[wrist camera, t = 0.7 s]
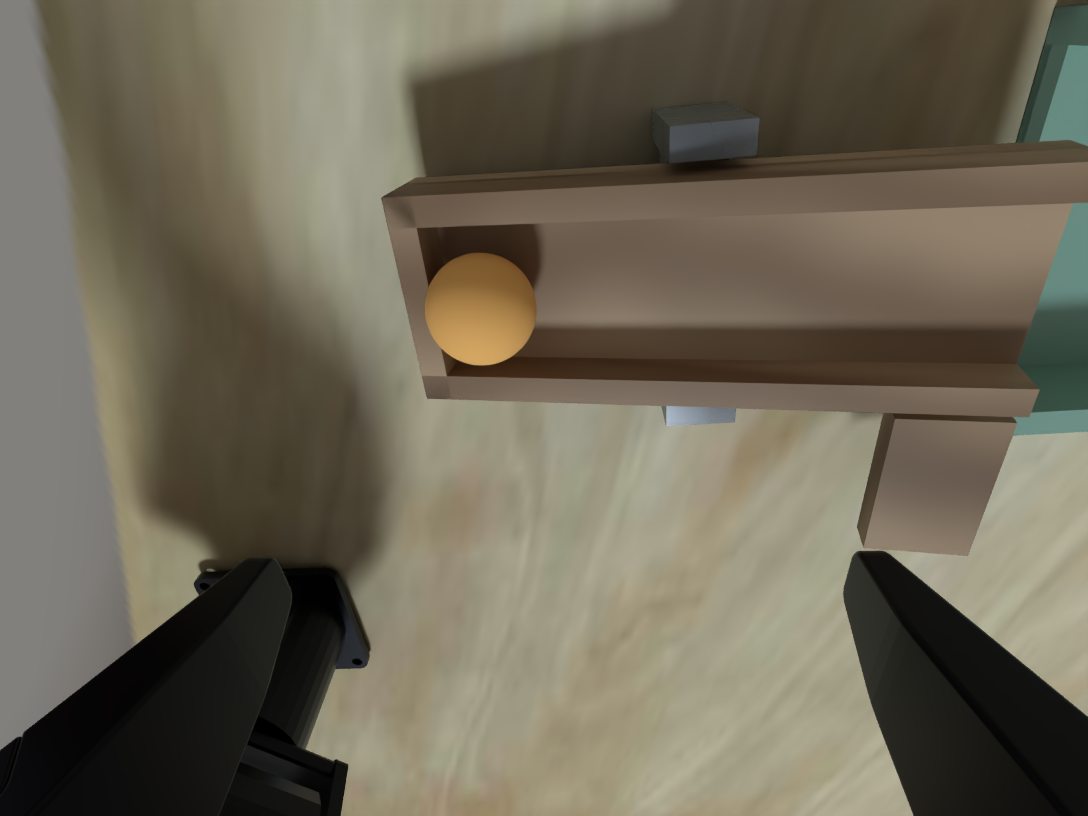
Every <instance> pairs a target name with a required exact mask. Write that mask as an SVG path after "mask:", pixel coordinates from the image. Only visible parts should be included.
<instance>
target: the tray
mask: <svg viewBox="0 0 1088 816" xmlns="http://www.w3.org/2000/svg"><path fill="white" fill-rule="evenodd" d="M1058 140H1071V141H1074V142H1077V143H1080V144H1083V145H1086V146H1088V4H1082V5H1073V6H1063V7H1055V10H1054V14H1053V17H1052V21H1051V24H1050V27H1049V31H1048V34H1047V38H1046V41H1045V45H1044V48H1043V52H1042V55H1041V59H1040V62H1039V66H1038V69H1037V73H1036V76H1035V79H1034V83H1033V86H1032V90H1031V93H1030V97H1029V100H1028V104H1027V107H1026V111H1025V114H1024V118H1023V121H1022V125H1021V128H1020V131H1019V135H1018V138H1017V142H1016V143H1024V142H1041V141H1058ZM1017 365H1018V366H1019V367H1020V368H1021V369H1022V370H1023V371H1024V372H1025V374H1026V375H1027V376H1028V377H1029V378H1030V379H1031V380H1032V381H1033V382H1034V384H1035V385H1036V386H1037V387H1038V388H1039V389H1040V390H1039V393H1038V396H1037V398H1036V401H1035V404H1034V406H1033V409H1032V411H1031V414H1030V417H1013V418H1014V419H1015V420H1016V422H1017V426H1016V428H1015V431H1014V434H1013V435H1031V434H1050V433H1069V432H1088V203H1073V205H1072V208H1071V211H1070V214H1069V217H1068V220H1067V223H1066V225H1065V228H1064V231H1063V234H1062V237H1061V240H1060V242H1059V245H1058V248H1057V251H1056V254H1055V257H1054V260H1053V262H1052V265H1051V268H1050V271H1049V274H1048V277H1047V280H1046V282H1045V285H1044V288H1043V291H1042V294H1041V297H1040V299H1039V302H1038V305H1037V308H1036V311H1035V314H1034V317H1033V319H1032V322H1031V325H1030V328H1029V331H1028V334H1027V337H1026V339H1025V342H1024V345H1023V348H1022V351H1021V354H1020V356H1019V359H1018V362H1017Z"/></svg>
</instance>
